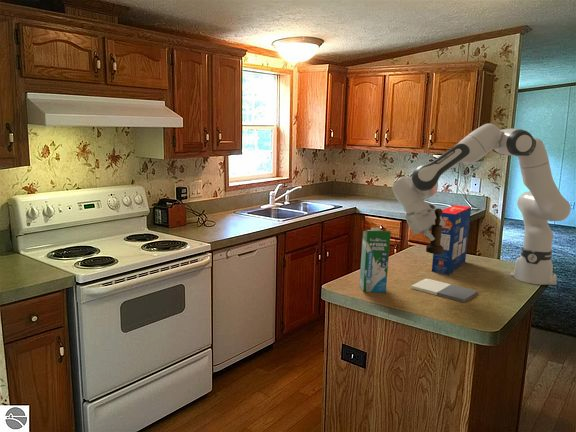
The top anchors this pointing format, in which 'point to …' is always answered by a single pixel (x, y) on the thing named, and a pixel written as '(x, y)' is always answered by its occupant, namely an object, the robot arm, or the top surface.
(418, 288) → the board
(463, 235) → the pasta box
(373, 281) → the milk carton
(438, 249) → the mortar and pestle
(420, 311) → the top surface
